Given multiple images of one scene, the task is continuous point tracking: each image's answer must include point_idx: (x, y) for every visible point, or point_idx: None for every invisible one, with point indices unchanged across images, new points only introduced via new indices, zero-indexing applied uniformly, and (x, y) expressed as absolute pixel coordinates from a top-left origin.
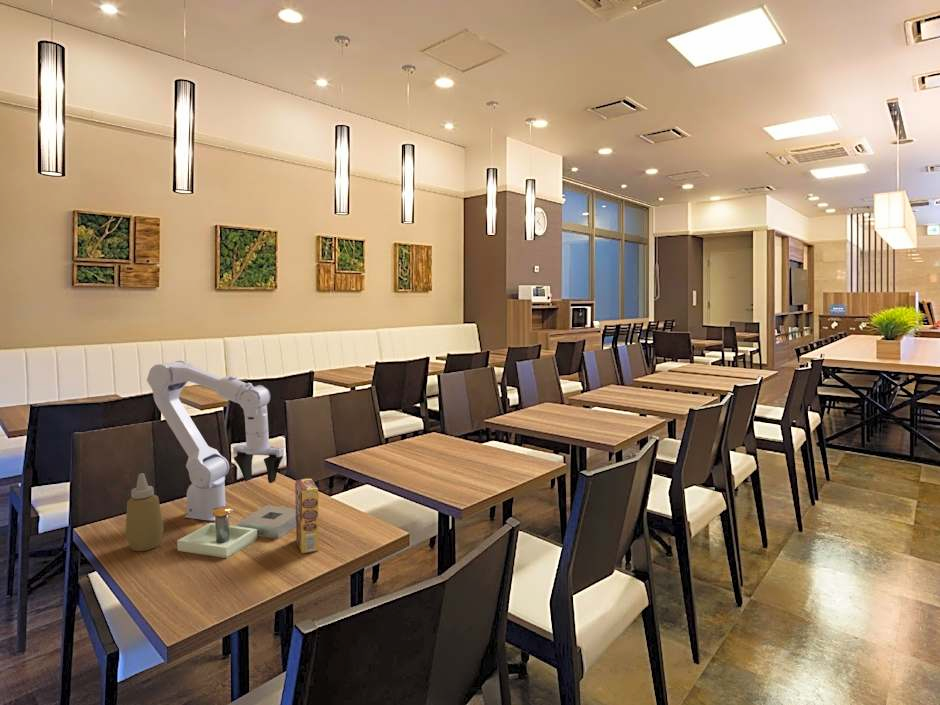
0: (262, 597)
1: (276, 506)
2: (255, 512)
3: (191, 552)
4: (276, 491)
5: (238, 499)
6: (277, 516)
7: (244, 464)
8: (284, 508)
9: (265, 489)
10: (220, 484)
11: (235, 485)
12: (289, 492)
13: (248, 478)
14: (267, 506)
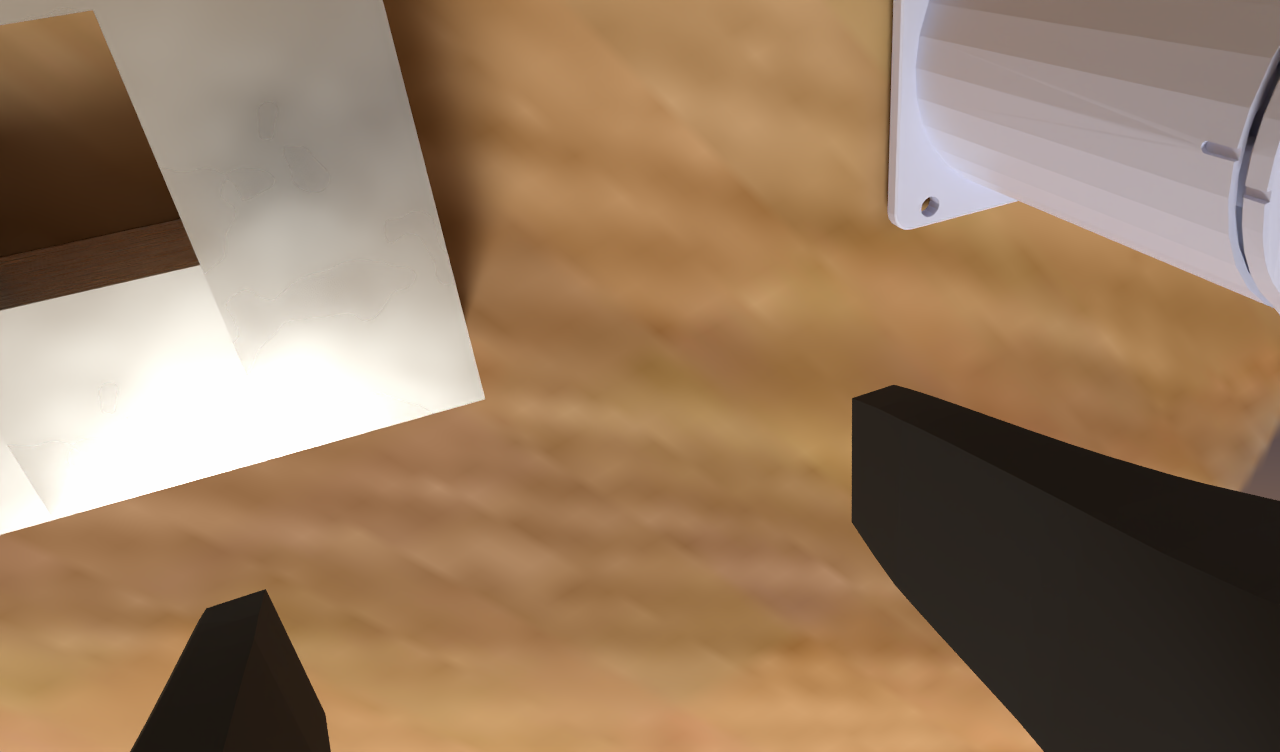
0: None
1: (323, 437)
2: (388, 134)
3: None
4: (832, 692)
5: None
6: (75, 275)
7: (1202, 649)
8: (148, 456)
9: (937, 661)
10: (1258, 142)
11: None
12: (721, 743)
13: (874, 471)
14: (435, 373)
